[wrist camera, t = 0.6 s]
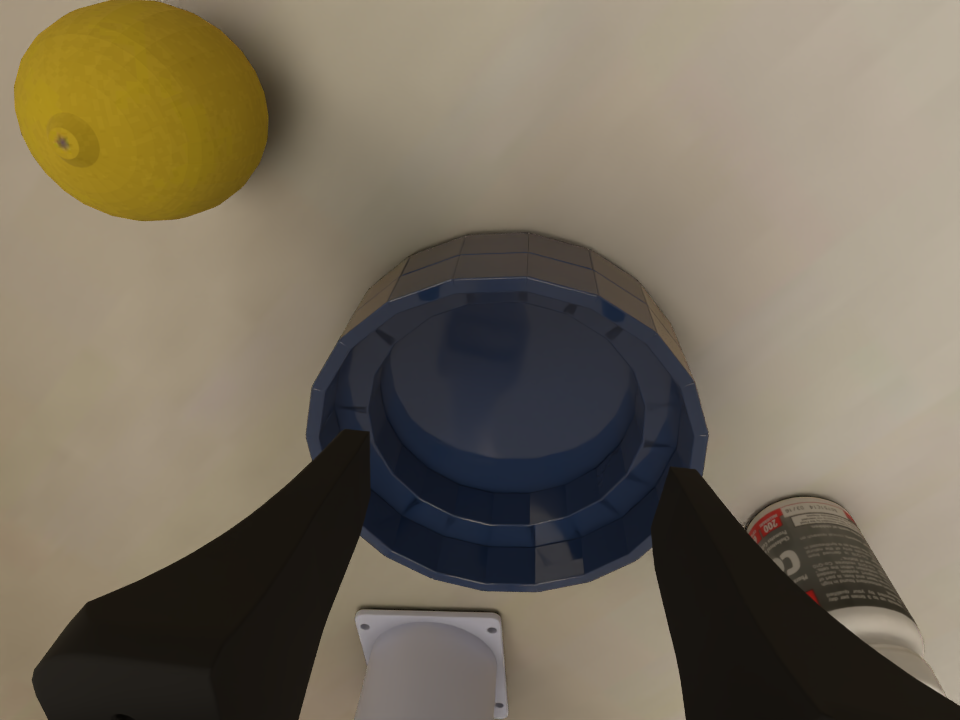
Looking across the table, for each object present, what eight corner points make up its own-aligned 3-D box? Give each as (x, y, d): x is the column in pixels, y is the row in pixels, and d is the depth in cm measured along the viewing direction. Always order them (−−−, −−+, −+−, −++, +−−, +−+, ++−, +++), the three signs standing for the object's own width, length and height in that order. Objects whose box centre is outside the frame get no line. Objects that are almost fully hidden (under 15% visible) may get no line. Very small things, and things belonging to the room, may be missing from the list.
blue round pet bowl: (664, 514, 28) (685, 596, 24) (370, 512, 30) (345, 589, 26) (698, 220, 21) (734, 269, 17) (310, 236, 23) (263, 285, 19)
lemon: (331, 149, 21) (230, 222, 14) (196, 198, 22) (45, 286, 15) (250, -31, 18) (81, -48, 12) (104, 36, 20) (-126, 56, 13)
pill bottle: (751, 492, 27) (827, 670, 20) (863, 493, 27) (983, 676, 20) (735, 565, 30) (798, 747, 22) (838, 567, 29) (936, 754, 22)
